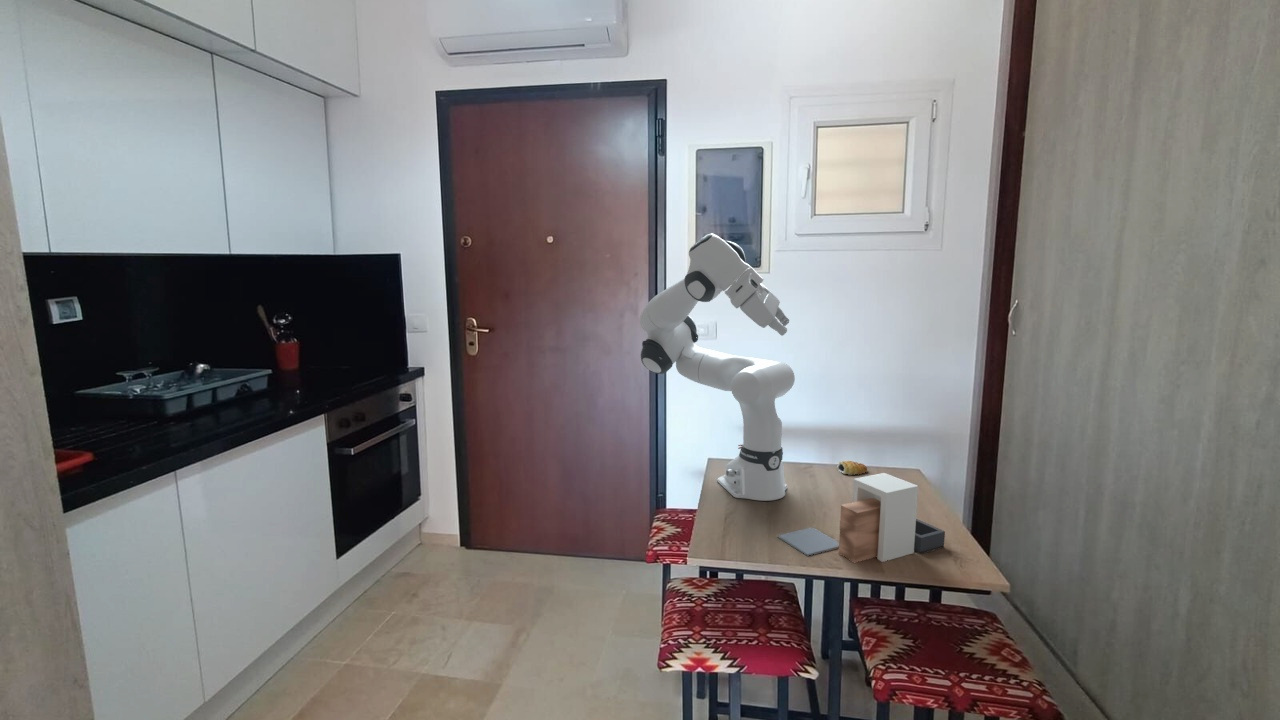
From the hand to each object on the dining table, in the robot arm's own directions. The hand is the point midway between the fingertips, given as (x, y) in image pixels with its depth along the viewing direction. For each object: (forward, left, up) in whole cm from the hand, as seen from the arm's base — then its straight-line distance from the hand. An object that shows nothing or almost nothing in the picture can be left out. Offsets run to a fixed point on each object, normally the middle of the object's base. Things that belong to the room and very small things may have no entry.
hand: (786, 328), depth 143 cm
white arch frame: (+18, +16, -52) cm, 57 cm away
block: (+18, +10, -52) cm, 56 cm away
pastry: (-27, +50, -52) cm, 77 cm away
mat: (+8, +3, -52) cm, 53 cm away
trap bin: (+18, +26, -52) cm, 61 cm away
